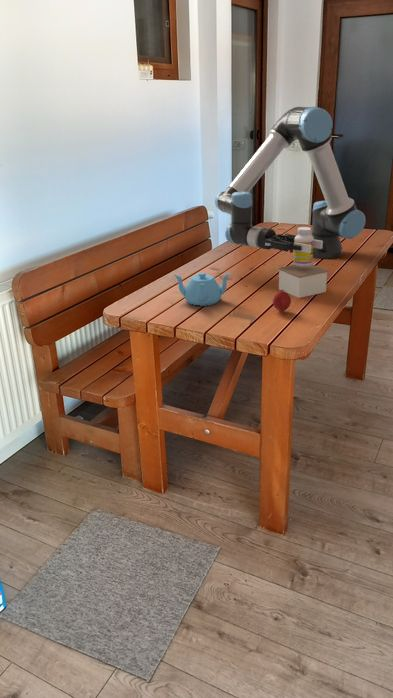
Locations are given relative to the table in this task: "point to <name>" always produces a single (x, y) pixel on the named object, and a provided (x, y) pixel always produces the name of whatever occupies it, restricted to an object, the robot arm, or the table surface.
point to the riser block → (302, 280)
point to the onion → (281, 301)
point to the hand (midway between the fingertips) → (316, 247)
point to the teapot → (202, 289)
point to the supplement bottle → (304, 238)
